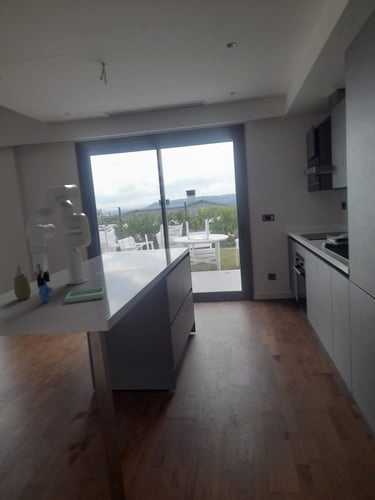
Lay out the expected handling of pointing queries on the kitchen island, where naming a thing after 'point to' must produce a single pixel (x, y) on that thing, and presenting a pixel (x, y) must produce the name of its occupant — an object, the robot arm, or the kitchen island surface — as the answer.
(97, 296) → the tray
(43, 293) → the grapes
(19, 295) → the squeeze bottle
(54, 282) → the kitchen island surface
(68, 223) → the robot arm
